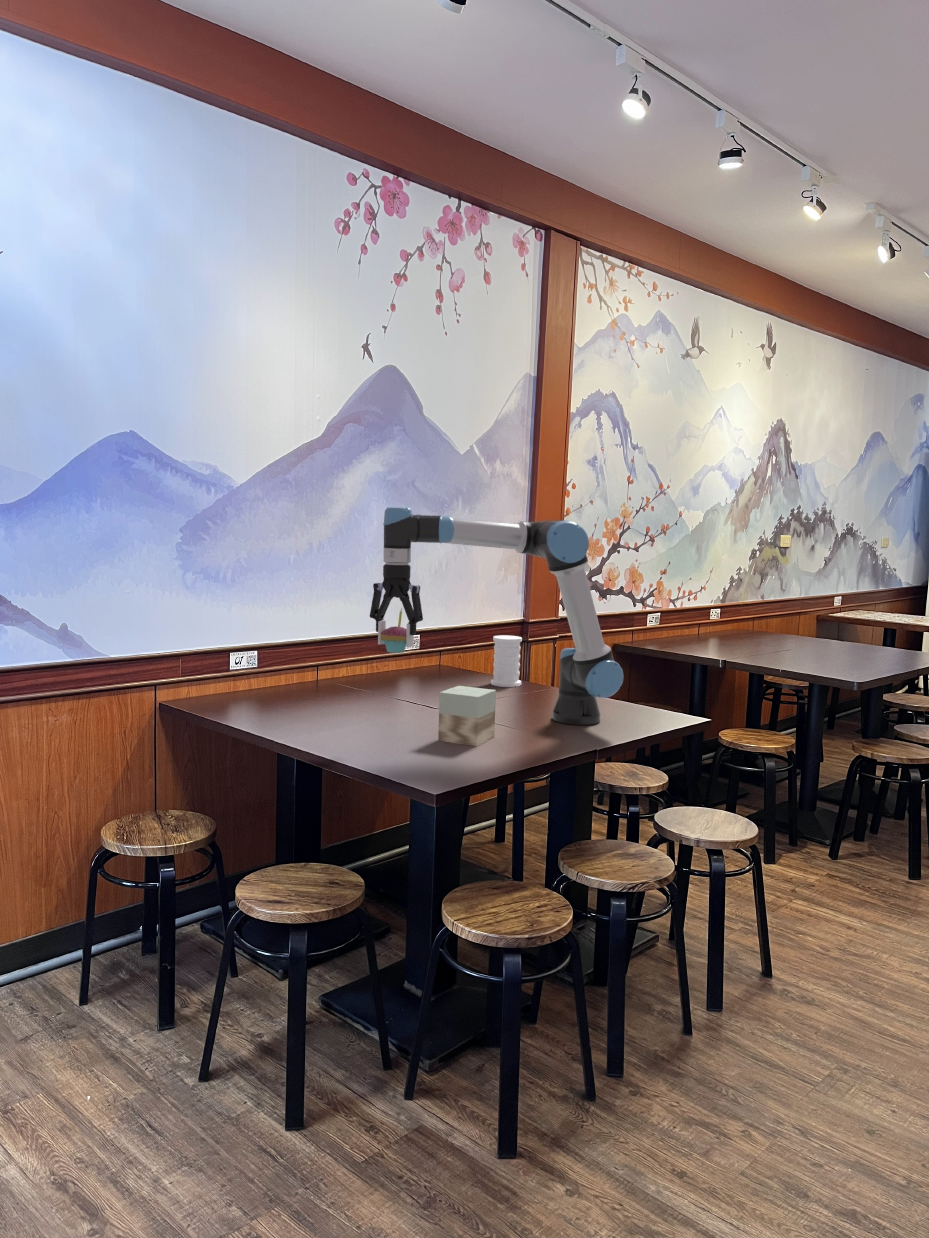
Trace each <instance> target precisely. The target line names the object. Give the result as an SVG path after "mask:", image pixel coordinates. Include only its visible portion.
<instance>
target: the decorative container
mask: <svg viewBox="0 0 929 1238" xmlns="http://www.w3.org/2000/svg"><path fill="white" fill-rule="evenodd" d="M492 637H493V638H492V640H493V642H494V645H493V650H494V654H493V659H494V661H493V665H492V666H493V671H492V674H493V679H491V680H490V685H492V686H495V687H501V688H514V687H515V686H516V687H520V685H522V680H519V678H520V675H521V674H520V667H521V664H520V660H521V654H520V652H521V649H522V647H521V643H522V641H523V638H522V637H521V636H516V635H503V634H502V635H494V636H492ZM516 687H515V688H516Z"/></svg>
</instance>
